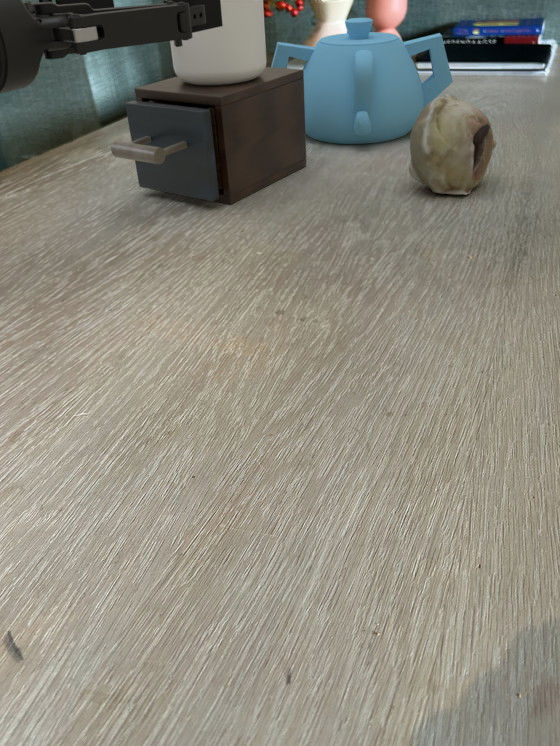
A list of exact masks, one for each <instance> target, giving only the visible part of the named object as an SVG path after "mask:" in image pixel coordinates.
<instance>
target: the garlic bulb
mask: <svg viewBox="0 0 560 746" xmlns="http://www.w3.org/2000/svg"><path fill="white" fill-rule="evenodd" d="M409 137H410V138H409V152H410V161H409V166H408V171H409V172H408V173H409V176H410V177H411V178H412V179H414V180H416V181H418V182H420V183H421V184H423V185H424V186H426V187H428V188H429V189H430V190H431V191H432V193H435V194H436V193H437V194H446V195H465V196H466V195H470V194H472V193H471V192H472V191H473V190H474V189H475V188H477V187H478V185H479V184H480V182H481V181H482V180H483V178H484V177H485V175H486V173H487V170H488V167H489V164H490V162H491V159H492V156H493V151H494V149H495V148H496V147H497V144H498V143H497V140H495V139H494V133H493V128H492V125H491V122H490V120H489V118H488V117H487V115H486V114H485V113H484V112H483V110H481V109H480V108H479V107H477V106H475V105H473V104H471V103H470V102H468V101H464V100H460V99H459V98H458V97H457V96H456V95H451V94H448V93H446V94H445V96H444V97H442V96H437V97H436V98H435V99H434V100H433V101H431V102H430V103H428V104H427V105H426V106H425V107H424V108H423V110H422V111H421V113H420V115H419V116H418V118H417V120H416V122H415V124H414V126H413V128H412V129H411V130H410V135H409Z"/></svg>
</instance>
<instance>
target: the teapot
mask: <svg viewBox="0 0 560 746" xmlns="http://www.w3.org/2000/svg"><path fill="white" fill-rule="evenodd" d="M373 23H374V19H372V18H371V17H353V18H347V19H346V20H345V21H344V24H345V28H346V33H336V34H331V35H326V36H323V37H321V38H319V40H317V42H316V43H315V45H314V46H309V45H304V44H303V45H302V44H296V43H295V44H294V43H289V42H283V41H277V42H276V45H275V50H274V54H273V58H272V62H271V66H270V67H275V68H288V65H289V59H290V58H294V59H297V60H302V61H305V63H304V66H303V68H302V69H303V72H304V103H305V135H307V136H308V137H309V138H311V139H313V140H316V141H318V142H324V143H329V144H338V145H339V144H340V145H341V144H342V145H364V144H375V143H376V144H377V143H383V142H389V141H392V140H396V139H399V138H402V137H404V136H406V135H408V134H409V133H410V132H411V131H412V128H413V126H414V124H415V122H416V120H417V118H418V116H419V115H420V113H421V111H422V110H423V108H424V107H425V106H426V105H427V104H428V103H430V102H431V101H433V100H434V99H435V98H437V97H439V96H440V95H441V94H442V93H443V92H444V91H445V90H446V89H447V88H448V87H449V86H450V85H451V84H453V82H454V80H453V76H452V71H451V68H450V64H449V60H448V56H447V52H446V48H445V43H444V39H443V35H442V34H441V33H440V32H438V33H434V34H430V35H426V36H422V37H418V38H414V39H410V40H407V41H403V40H402V38H401V37H400V36H399V35H397V34H395V33H392V32H391V33H389V32H381V31H379V32H378V31H375V32H374V31H371V29H372V27H373ZM426 51H429V52H428V53H429V56H430V57H429V59H430V65H431V72H432V74H431V75H429V76H428V77H427V78H426V79H425V80H424V81H422V79H421V77H420V74H419V71H418V68H417V66H416V64H415V62H414V60H413V58H412V56H415V55H417V54H421V53H423V52H426Z"/></svg>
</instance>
